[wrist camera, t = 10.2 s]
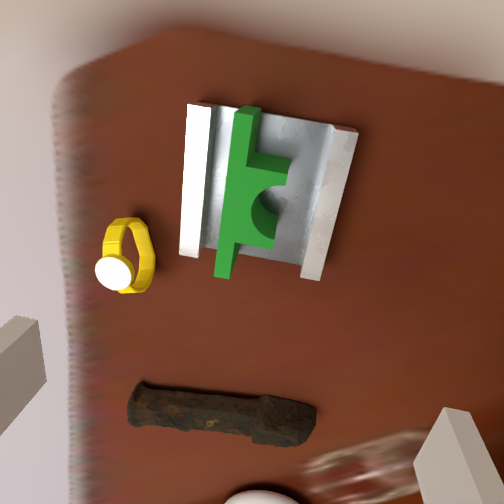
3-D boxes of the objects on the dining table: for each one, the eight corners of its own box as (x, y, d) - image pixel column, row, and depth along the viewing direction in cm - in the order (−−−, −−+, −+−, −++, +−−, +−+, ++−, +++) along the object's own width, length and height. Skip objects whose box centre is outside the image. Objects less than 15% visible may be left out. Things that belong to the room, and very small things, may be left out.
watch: (121, 210, 31) (82, 234, 26) (152, 208, 31) (119, 231, 25) (138, 274, 33) (105, 309, 28) (167, 273, 33) (139, 307, 28)
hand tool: (142, 402, 42) (124, 439, 37) (138, 376, 40) (119, 412, 36) (312, 423, 40) (313, 464, 36) (316, 396, 38) (317, 437, 34)
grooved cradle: (353, 126, 26) (358, 133, 23) (318, 263, 31) (319, 281, 28) (199, 100, 26) (188, 104, 24) (189, 239, 31) (179, 254, 29)
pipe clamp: (270, 257, 30) (264, 287, 26) (225, 248, 30) (213, 276, 26) (299, 113, 25) (298, 123, 21) (245, 104, 25) (233, 112, 21)
